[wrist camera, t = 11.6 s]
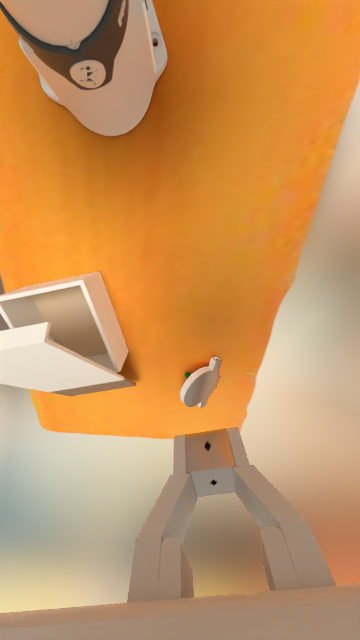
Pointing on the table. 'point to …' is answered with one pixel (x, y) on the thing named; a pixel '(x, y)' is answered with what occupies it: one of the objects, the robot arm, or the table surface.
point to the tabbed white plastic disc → (200, 384)
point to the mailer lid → (51, 364)
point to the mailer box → (71, 316)
